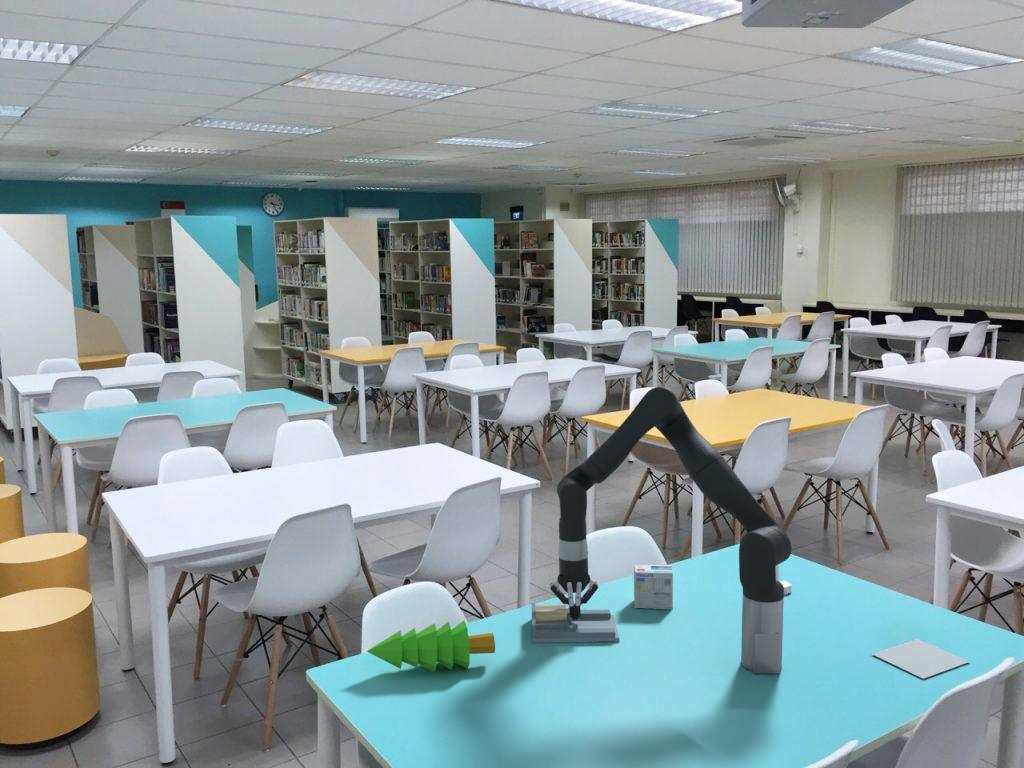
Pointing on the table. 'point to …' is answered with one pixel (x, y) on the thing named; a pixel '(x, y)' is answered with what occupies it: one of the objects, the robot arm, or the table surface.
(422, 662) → the decorative tree
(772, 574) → the robot arm
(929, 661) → the paper stack
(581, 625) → the slot board
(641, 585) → the light bulb box
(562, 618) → the birch block
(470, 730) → the table surface
